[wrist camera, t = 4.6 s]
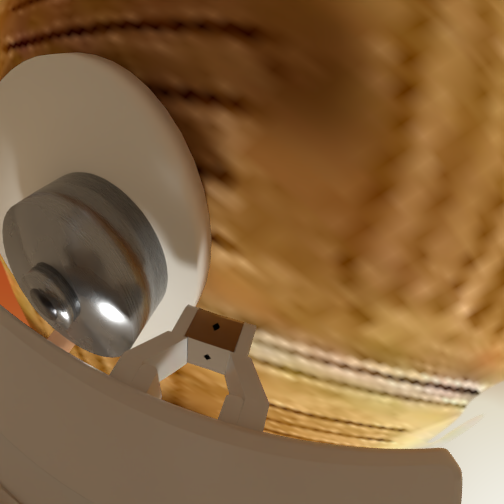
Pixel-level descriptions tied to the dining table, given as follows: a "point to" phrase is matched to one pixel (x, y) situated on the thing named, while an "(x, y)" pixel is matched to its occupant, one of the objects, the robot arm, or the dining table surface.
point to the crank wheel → (107, 160)
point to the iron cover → (87, 261)
